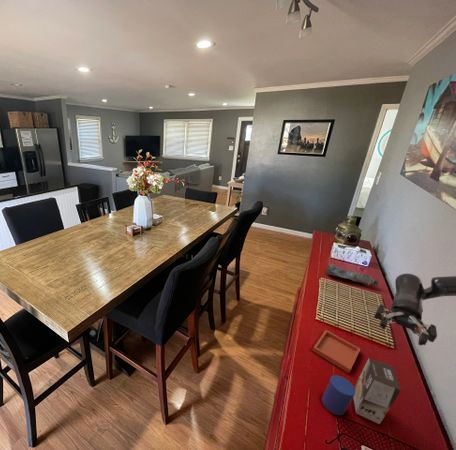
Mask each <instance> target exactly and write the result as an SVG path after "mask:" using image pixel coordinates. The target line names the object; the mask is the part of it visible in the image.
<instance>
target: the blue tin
mask: <svg viewBox="0 0 456 450" xmlns="http://www.w3.org/2000/svg"><path fill="white" fill-rule="evenodd" d="M354 386H355V385H353V384H352V382H351V381H349V380H348V379H347V378H345V377H343V376H341V375H336V374H335V375H332V376H331V377H330V379H329V381H328V383H327V385H326V388H325V390H324V392H323V394H322V397H321V402H322V404H323V406H324V408H325V409H326V410H327V411H328V412H330V413H331V414H333V415H336V416H344V415H345V413H346V411H347V409H348V407H349V406H350V404H351V402H352V401H353V399H354V398H353V396H354V395H355V388H354Z"/></svg>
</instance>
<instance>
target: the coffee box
mask: <svg viewBox="0 0 456 450" xmlns="http://www.w3.org/2000/svg"><path fill="white" fill-rule="evenodd" d="M353 386H354V388H355V395H354V396H353V398H352V399H353V404H354V410H355V414H356V415H358V416H360V417H363V418H364V419H367V420H369V421H372V422H373V423H376V424H377V425H380V424H381V423H382V421H383V420H384V418H385V417H386V415H387V414H388V412H389V411H390V409H391V407H392V406H393V404H394V403H395V401H396V399H397V398H398V396H399V395H400V393H401V391H402V388H401V386H400V383H399V380H398V377H397V375H396V371H395V369H394V366H392V365H390V364H387V363H385V362H382V361H379V360H375V359H372V358H369V357H368V359H367V361H366V363H365V365H364V367H363V369H362V371H361V373H360V374H359V376H358V379H357V380H356V382H355V384H354V385H353Z"/></svg>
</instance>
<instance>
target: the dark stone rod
mask: <svg viewBox="0 0 456 450" xmlns="http://www.w3.org/2000/svg"><path fill="white" fill-rule="evenodd" d="M325 270H326V275H329V276H335V277H339V278H342V279H347V280H350V281H352V282H356V283H357V282H358V283H360V284H362V285H364V286H365V287H369V286H370V285H372V286H378V284H379V280H377V279H373V278H372V275H370V274H364V273H359V272H356V271H354V270H346V269H344V268H342V267H339V266H337V265H335V264H333V263H329V264H328V267H326V268H325Z"/></svg>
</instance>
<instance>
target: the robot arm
mask: <svg viewBox="0 0 456 450" xmlns="http://www.w3.org/2000/svg"><path fill="white" fill-rule="evenodd" d="M422 282H423V281H422V279H421V278H420V277H419V276H418V275H415V274H413V273H401V274H400V275H397V276H396V278H395V281H394V283H395V284H394V285H395V296H394V297H393V300H392V303H391V306H390V308H389V309H388V308H385V305H383V304H379V305H378V308H377V310H376V311H375V314H374V316H373V318H374V319H376V320H380V322H379V326H380V327H381V329H383V330H385V329H386V327H387V325H388V324H396V325H399V326H402V327H403V328H406V329H407V330H410V331H411V332H412V334H414V335H417V336H418V345H419V346H426V345H427V343H428V341H429V342H430V343H434V342H435V341H436V339H437V337H438V331H437V326H436V325H435V324H430V325H428V324H426V323H424V322H423V321H422V318H423V312H424V309H423V301H427V300H430V299H435V298H441V297H456V275H449V276H433V277H431V279H430V286H429V287H426V288H424V284H423V283H422Z"/></svg>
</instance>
